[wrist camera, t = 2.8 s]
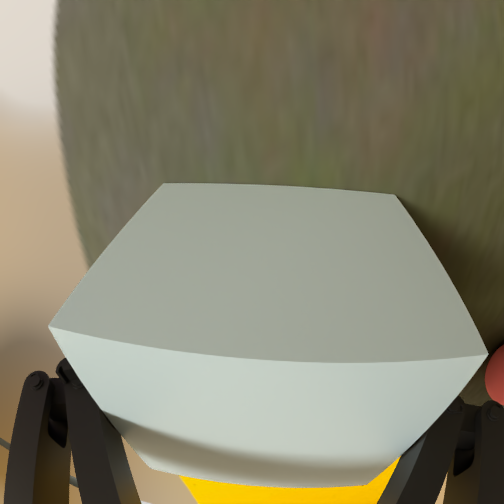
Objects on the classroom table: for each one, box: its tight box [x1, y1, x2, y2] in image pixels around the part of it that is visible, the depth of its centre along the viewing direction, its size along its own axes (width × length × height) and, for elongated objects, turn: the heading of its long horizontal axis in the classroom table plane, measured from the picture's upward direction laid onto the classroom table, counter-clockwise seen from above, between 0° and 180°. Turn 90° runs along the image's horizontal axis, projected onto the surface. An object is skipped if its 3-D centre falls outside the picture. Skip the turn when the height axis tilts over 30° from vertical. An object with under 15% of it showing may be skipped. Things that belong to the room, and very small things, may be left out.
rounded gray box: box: [48, 183, 488, 488], centre depth 12 cm, size 10×10×9 cm
